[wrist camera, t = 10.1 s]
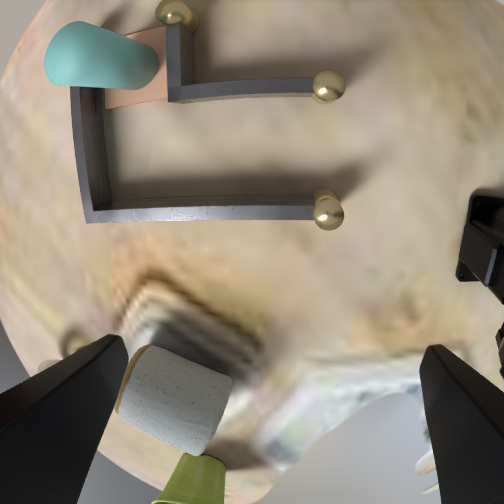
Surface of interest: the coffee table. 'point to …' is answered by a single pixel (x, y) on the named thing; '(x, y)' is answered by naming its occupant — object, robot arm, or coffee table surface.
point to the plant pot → (195, 482)
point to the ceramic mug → (173, 398)
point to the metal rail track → (186, 91)
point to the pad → (159, 82)
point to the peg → (98, 59)
